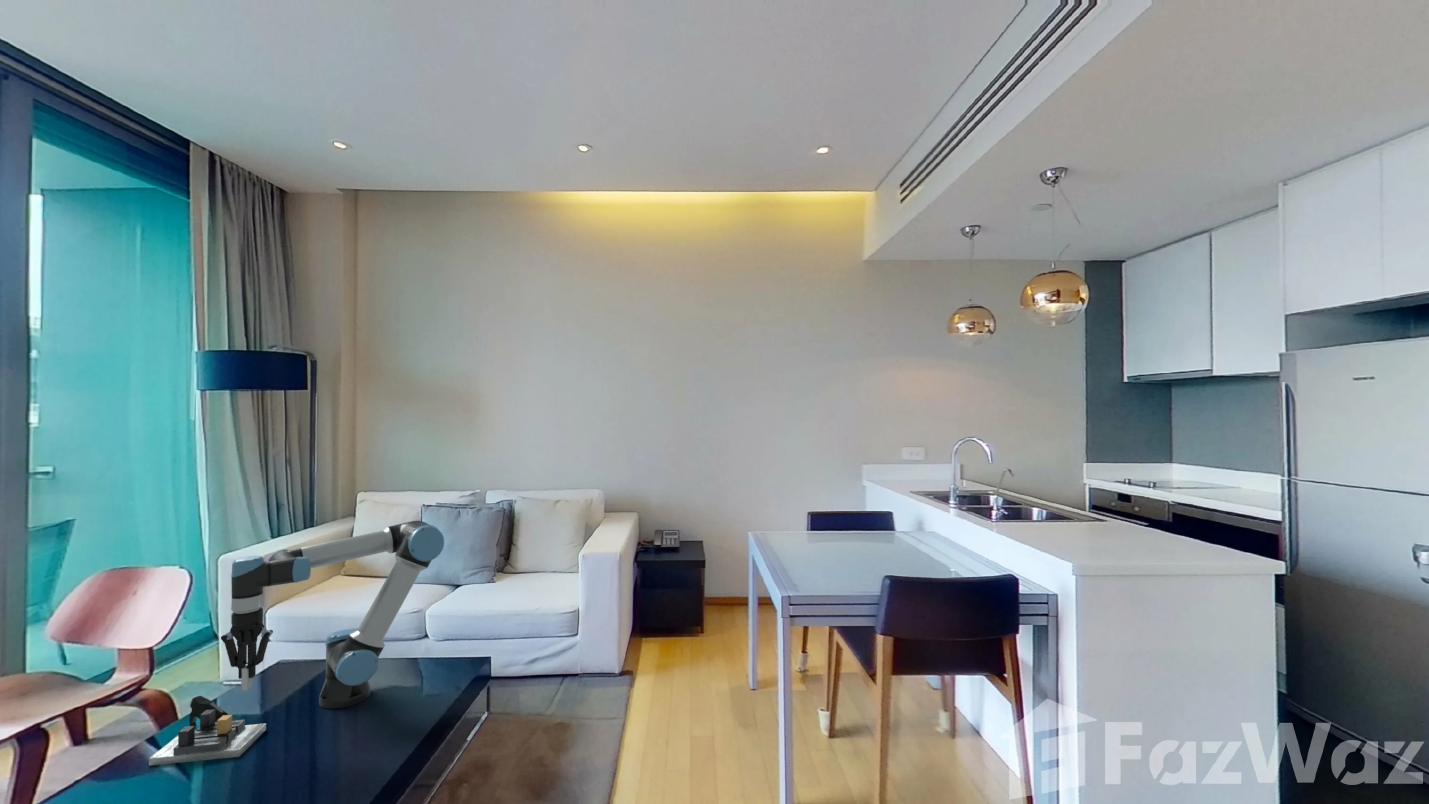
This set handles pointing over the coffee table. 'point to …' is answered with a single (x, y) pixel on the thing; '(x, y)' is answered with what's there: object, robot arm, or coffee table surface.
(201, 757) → the panel
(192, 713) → the gun
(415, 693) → the coffee table surface
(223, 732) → the handle
